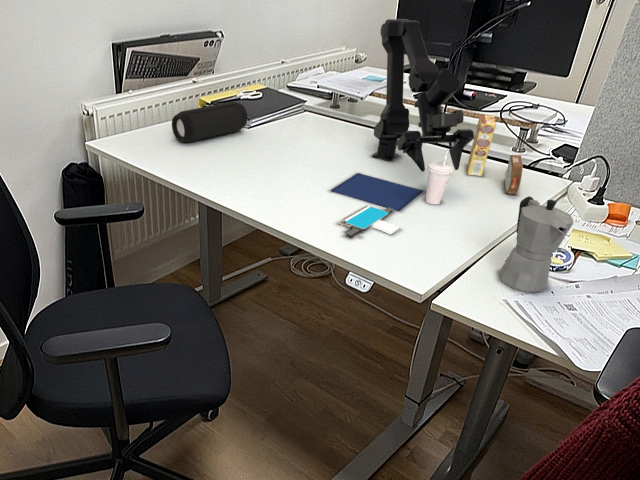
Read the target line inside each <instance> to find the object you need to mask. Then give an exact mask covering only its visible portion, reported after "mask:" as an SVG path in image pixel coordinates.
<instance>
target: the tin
mask: <svg viewBox="0 0 640 480" xmlns="http://www.w3.org/2000/svg"><path fill="white" fill-rule="evenodd" d="M523 167H524V165H523V158H522V155H521V154H510V156H509V158H508V164H507V168H506V171H505V177H504V189H505V193H506V194H508V195H515V196H516V195H517V194H518V192H519V190H520V189H519V188H520V186H521V181H522V177H523V169H524V168H523Z"/></svg>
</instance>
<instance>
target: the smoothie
mask: <svg viewBox="0 0 640 480" xmlns="http://www.w3.org/2000/svg"><path fill="white" fill-rule="evenodd" d="M448 154H449V149H446V150H445V154H444V158H443V162H441V161H435V162H433V161H432V162H430V163H429V164H428V166H427V170H428V172H427V181H426V192H425V193H426V194H425V202H426V203H427V204H430V205H439V204H441V201H442V198H443V196H444V193H445V191H446V188H447V185H448V183H449V181H450V179H451V176H452V174H453V173H454V171H455V168H454V166H453V165H451V164H450V163H446V162H447V159H448Z"/></svg>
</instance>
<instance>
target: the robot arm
mask: <svg viewBox="0 0 640 480" xmlns="http://www.w3.org/2000/svg"><path fill="white" fill-rule="evenodd" d="M380 37H381V45H382V47H383V49H384V51H385V52H386V54H387V56H386V61H387V62H386V93H385V94H386V99H385V103H386V104H385V106H384V108H383V109H382V111H381V113H380V116H379V117H380V118H379V121H378V122H377V123H376V124H375V126H374V127H373V136H374V137H375V138H376V139H377V140H378V144H377V150H376V152H374V153H373V154H372V155H371V156H372V158H377V159H381V160H384V161H389V162H391V161H393V160H395V159H396V158H398V157H399V156H400V153H397V152H396V151H397V150H398V151H402V152H403V154H406V155H407V156H408V157H409V158H410V159H411V160H412V161H413V162H414V164H415V166H417V167H418V169H419V170H420V171H421V173H424V172H425V171H426V165H425V159H424V154H423V144H448V146H449V147H450V148H449V149H448V150H449V151H448V153H449V155H450V158H451V162H452V166H453V167H454V171H458V170H459V169H460V164H461V159H462V154H463V151H464V148H465V147H466V146H468V144H470V143H471V142H473V141H474V137H475V133H474V131H473V129H472V128H459V129H457V130H455V132H454V133H452V134H447V133H450V132H451V131H452V128H453V127H455V128H457V127H458V125H460V124H463V122H464V118H465V117H464V116H465V115H464V111H463V109H456V110H452V112H446V111H443V107H442V105H444V104H446V103H447V102H448V101H449V100H450V99H451V97H452V96H453V95H454V94H455V93H456V92H457V91H458V90H459V88H460V79H459V78H458V77H457V76H456V75H455V74H454V73H451V71H450V68H441V69H439V68H438V65H437V64H436V63H435V62H433V61H432V60H430V58H429V55H428V52H427V48H426V44H425V41H424V39H423V35H422V32H421V22H420V21H418V20H409V19H408V18H402V19H401V18H397V19H396V18H395V19H390V18H388V19H386V20H385V22H383V23H382V24H381V27H380ZM405 53H406V57H407V61H408V64H409V66H410V72H409V74H408V77H407V78H408V87H409V89H410V91H411V93H413V94H414V93H415V94H419V93H420V95H419V96H418V97H417V99H416V101H415V102H414V106H413V107H414V108H417V109H418V115H419V116H418V117H419V122H418V123H417V127H418V128H421V131H419V130H409V129H410V110H409V108H407V107H406V106H405V105H404V82H405V81H404V80H405V79H404V77H405Z"/></svg>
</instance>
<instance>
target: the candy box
mask: <svg viewBox="0 0 640 480" xmlns="http://www.w3.org/2000/svg"><path fill="white" fill-rule="evenodd" d="M496 127H497V123H496V118H495V116H494V115H485V114H479V117H478V121H477V125H476V128H475V133H474V139H473V140H472V145H471V149H470V154H469V157H468V160H467V161H468V162H467V175H468V176H476V177H482V176H483V174H484V171H485V166H486V163H487V160H488V156H489V152H490V149H491V146H492V145H491V144H492V141H493V137H494V133H495V130H496Z"/></svg>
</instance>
